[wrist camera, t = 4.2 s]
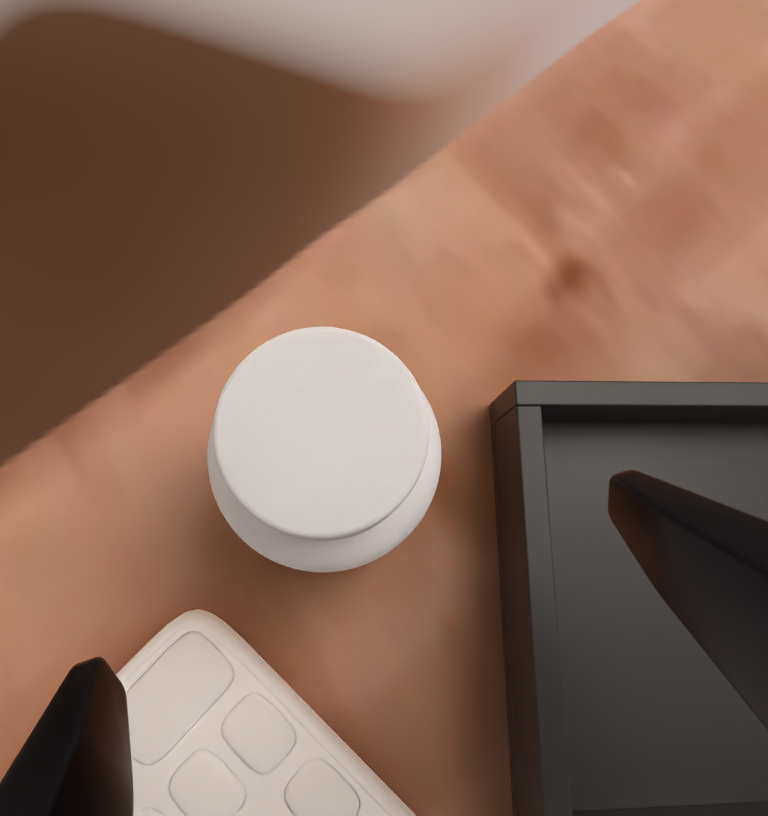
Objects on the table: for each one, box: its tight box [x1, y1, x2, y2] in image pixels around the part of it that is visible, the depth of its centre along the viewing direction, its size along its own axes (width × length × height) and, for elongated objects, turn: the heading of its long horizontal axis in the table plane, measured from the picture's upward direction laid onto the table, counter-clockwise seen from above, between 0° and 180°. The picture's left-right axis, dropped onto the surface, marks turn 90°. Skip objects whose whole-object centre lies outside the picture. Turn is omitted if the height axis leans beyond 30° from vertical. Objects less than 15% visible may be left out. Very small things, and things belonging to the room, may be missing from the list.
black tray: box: [490, 381, 768, 816], centre depth 19 cm, size 14×15×3 cm
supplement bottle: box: [207, 327, 441, 572], centre depth 16 cm, size 5×5×10 cm
